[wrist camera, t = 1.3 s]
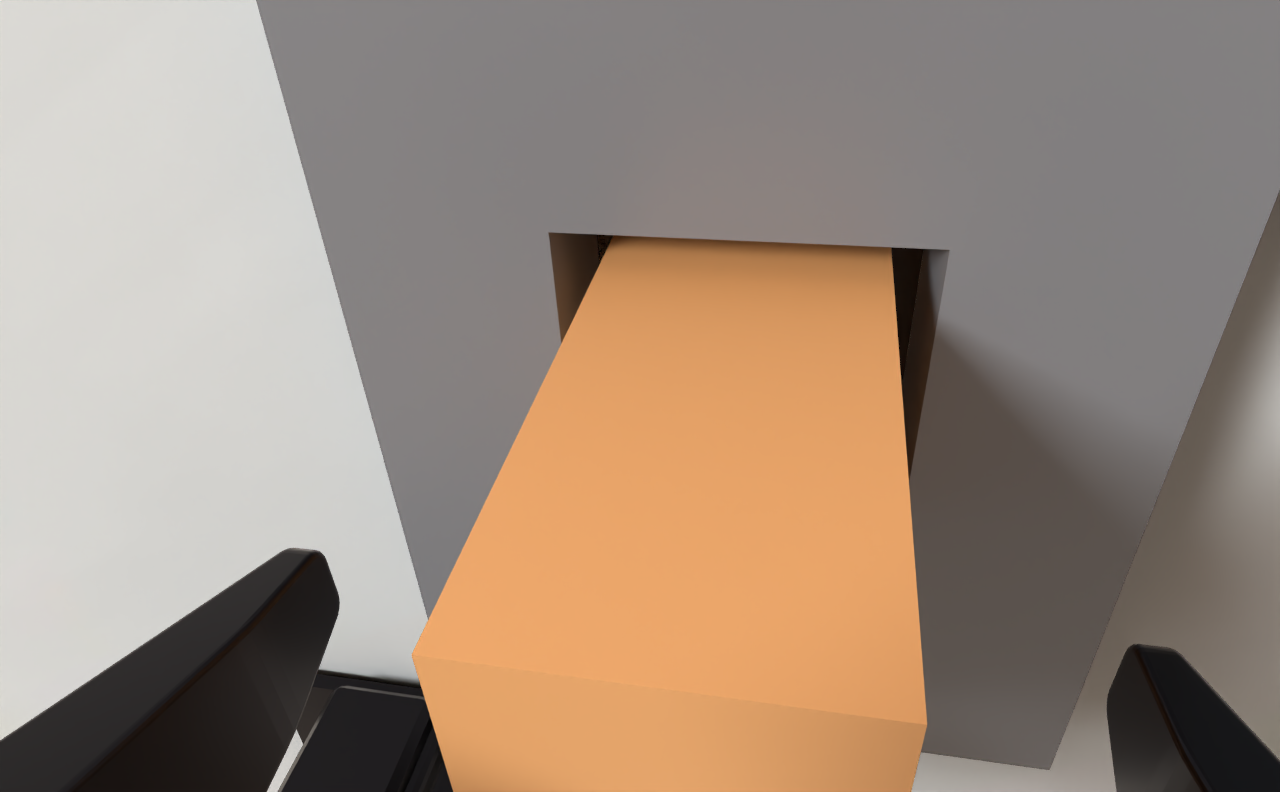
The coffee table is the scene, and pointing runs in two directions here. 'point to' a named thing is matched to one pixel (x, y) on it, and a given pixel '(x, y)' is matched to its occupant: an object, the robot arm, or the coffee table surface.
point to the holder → (818, 214)
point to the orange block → (696, 542)
